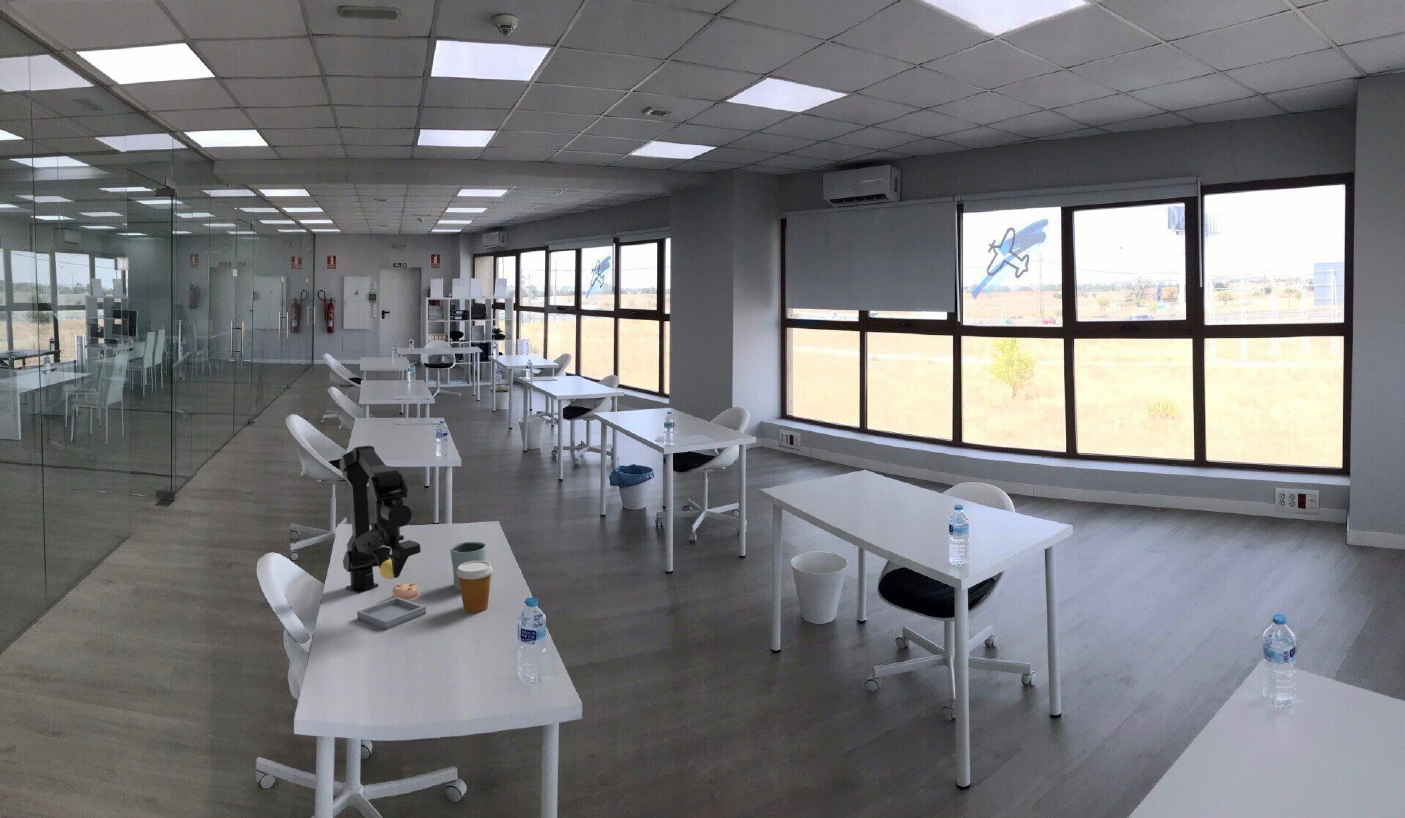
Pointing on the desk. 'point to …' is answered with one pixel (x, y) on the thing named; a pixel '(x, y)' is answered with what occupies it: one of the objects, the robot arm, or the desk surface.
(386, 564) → the ball
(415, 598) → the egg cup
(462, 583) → the disposable coffee cup
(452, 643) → the desk surface
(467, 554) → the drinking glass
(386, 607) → the tray
